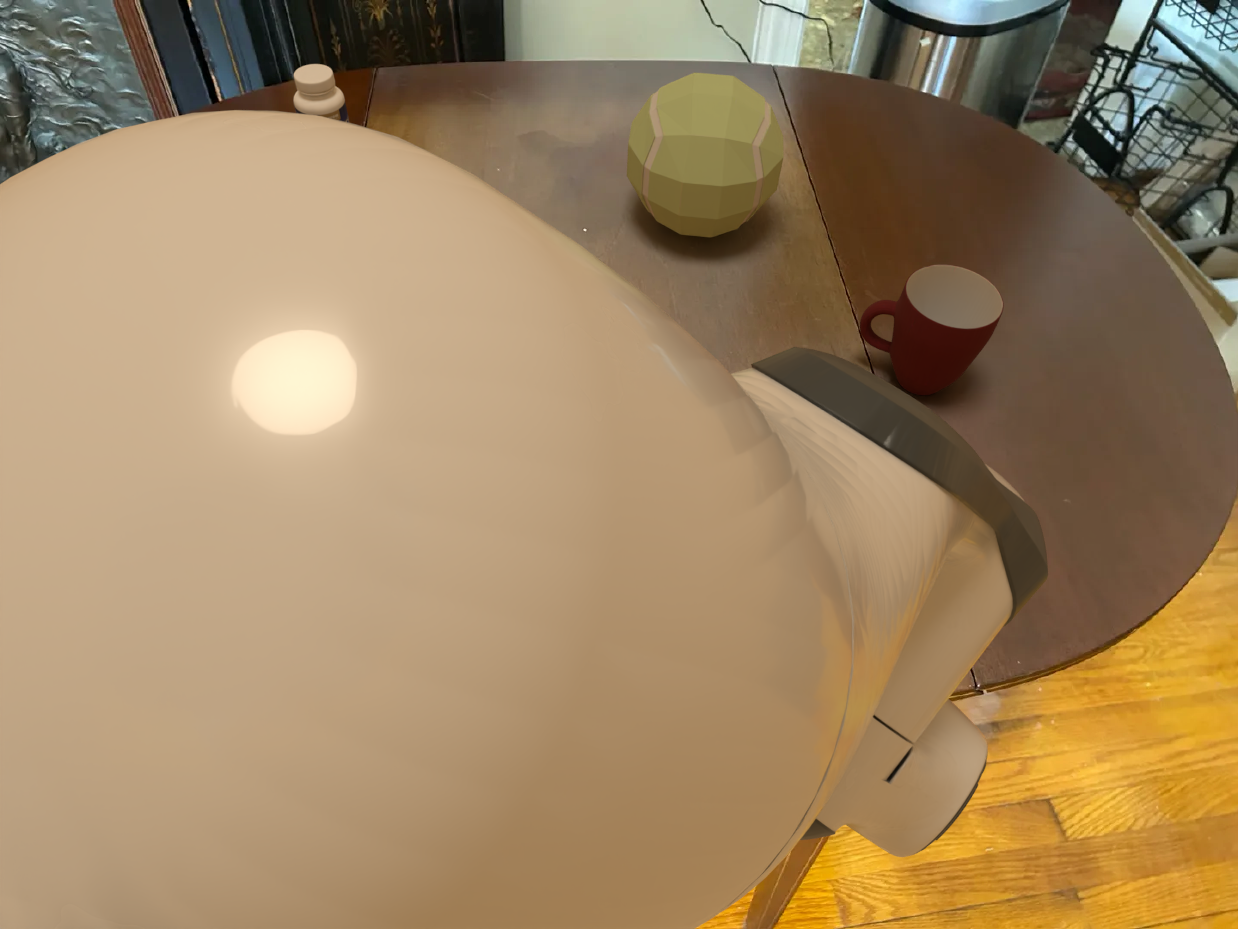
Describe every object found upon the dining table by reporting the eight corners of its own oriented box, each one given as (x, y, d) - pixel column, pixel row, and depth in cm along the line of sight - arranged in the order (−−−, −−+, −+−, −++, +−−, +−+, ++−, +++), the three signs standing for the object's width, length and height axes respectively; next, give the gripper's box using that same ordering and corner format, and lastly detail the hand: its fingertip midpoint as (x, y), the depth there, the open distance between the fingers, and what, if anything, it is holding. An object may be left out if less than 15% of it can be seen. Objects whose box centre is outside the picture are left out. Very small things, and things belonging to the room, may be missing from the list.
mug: (842, 396, 81) (870, 312, 73) (850, 335, 86) (878, 250, 78) (962, 421, 79) (1004, 338, 72) (964, 358, 84) (1004, 273, 76)
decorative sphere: (618, 257, 92) (624, 120, 80) (633, 171, 101) (640, 37, 89) (767, 271, 91) (795, 136, 79) (768, 183, 100) (793, 51, 88)
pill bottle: (335, 168, 99) (317, 91, 92) (296, 154, 100) (275, 78, 93) (364, 143, 102) (349, 68, 95) (326, 131, 103) (308, 55, 96)
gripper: (821, 467, 53) (646, 349, 59) (577, 704, 44) (395, 537, 49) (800, 527, 58) (641, 413, 64) (577, 753, 49) (412, 596, 54)
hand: (532, 468), depth 57 cm, fingers open, 6 cm apart
